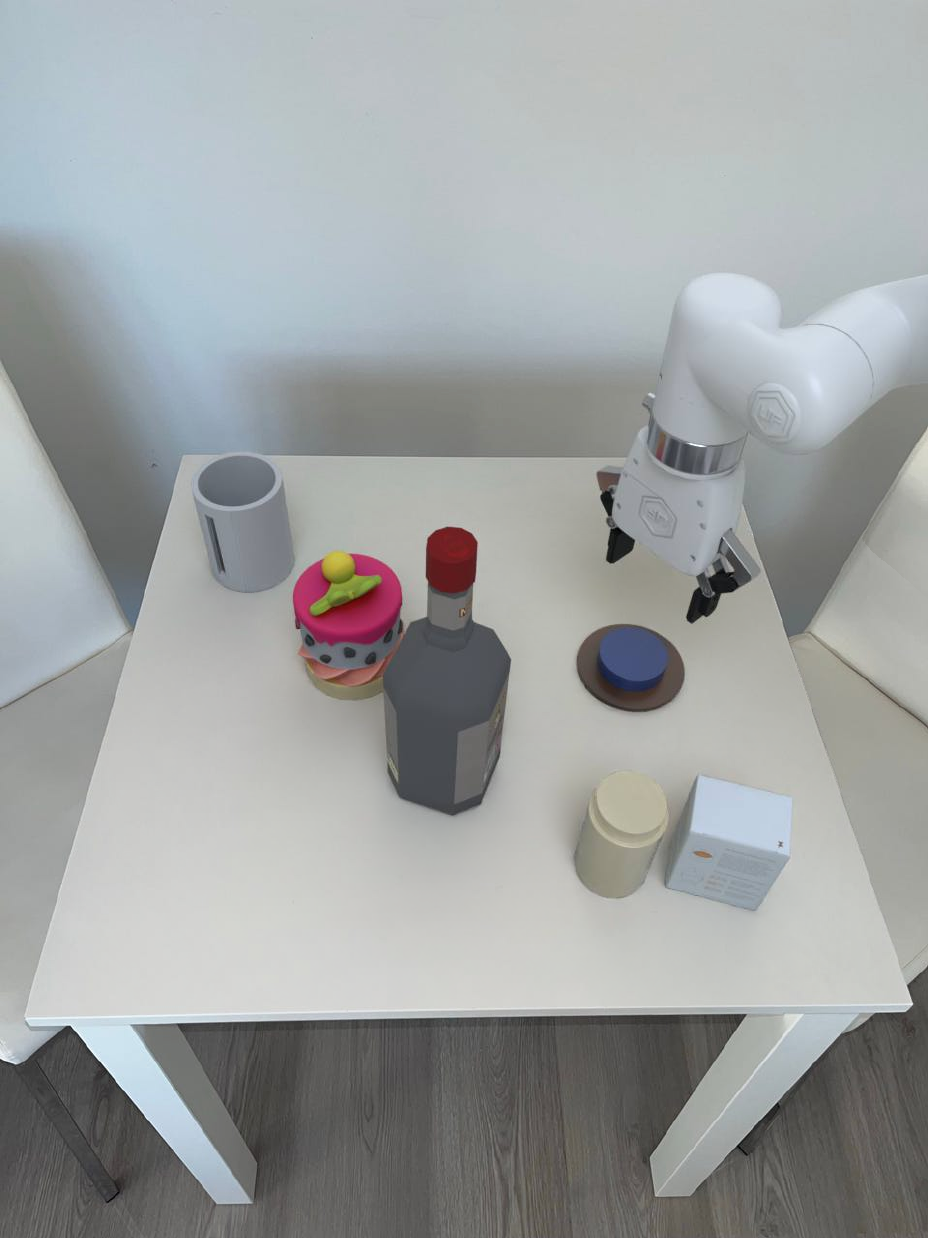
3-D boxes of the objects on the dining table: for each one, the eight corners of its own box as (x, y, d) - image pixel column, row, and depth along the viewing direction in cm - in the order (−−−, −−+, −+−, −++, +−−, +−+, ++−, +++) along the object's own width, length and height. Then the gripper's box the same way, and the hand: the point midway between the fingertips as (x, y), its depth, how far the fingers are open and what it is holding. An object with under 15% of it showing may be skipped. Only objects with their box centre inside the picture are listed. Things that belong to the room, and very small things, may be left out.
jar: (652, 843, 84) (678, 779, 75) (639, 908, 80) (665, 848, 71) (583, 822, 85) (600, 757, 76) (566, 885, 81) (583, 824, 72)
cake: (281, 657, 96) (262, 555, 84) (362, 606, 101) (354, 503, 89) (344, 721, 91) (332, 622, 80) (426, 665, 96) (426, 564, 84)
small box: (760, 855, 83) (796, 796, 75) (756, 913, 80) (793, 858, 72) (671, 832, 84) (697, 771, 76) (662, 888, 81) (689, 830, 73)
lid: (582, 660, 96) (584, 649, 95) (627, 627, 99) (630, 616, 98) (633, 703, 93) (636, 692, 91) (678, 667, 96) (682, 656, 95)
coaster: (691, 643, 99) (693, 640, 98) (672, 725, 92) (674, 721, 92) (590, 616, 101) (591, 612, 100) (565, 694, 94) (565, 690, 94)
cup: (302, 537, 107) (291, 455, 98) (283, 596, 101) (270, 515, 92) (224, 529, 107) (205, 447, 98) (201, 587, 102) (179, 506, 92)
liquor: (505, 746, 90) (533, 519, 67) (473, 827, 84) (493, 609, 61) (416, 718, 92) (415, 487, 69) (379, 795, 86) (365, 571, 63)
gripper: (583, 402, 76) (562, 552, 89) (756, 513, 67) (705, 661, 80) (645, 368, 79) (616, 517, 92) (817, 470, 71) (759, 618, 84)
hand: (658, 584), depth 86 cm, fingers open, 9 cm apart
